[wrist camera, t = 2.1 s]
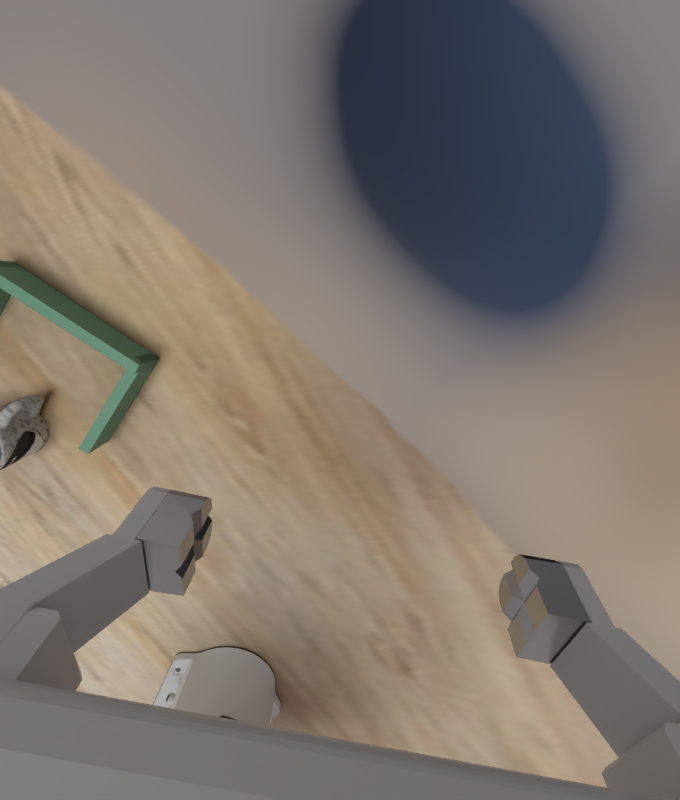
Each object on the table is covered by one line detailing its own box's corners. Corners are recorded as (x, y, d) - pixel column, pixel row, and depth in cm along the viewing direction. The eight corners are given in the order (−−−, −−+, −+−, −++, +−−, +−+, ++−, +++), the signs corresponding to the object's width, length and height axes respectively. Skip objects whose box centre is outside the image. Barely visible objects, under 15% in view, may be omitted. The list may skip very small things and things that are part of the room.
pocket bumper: (107, 441, 48) (82, 457, 43) (-34, 356, 44) (-79, 363, 39) (159, 358, 45) (139, 365, 40) (13, 262, 42) (-28, 256, 37)
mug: (29, 462, 48) (-17, 487, 42) (-18, 428, 47) (-72, 449, 40) (75, 409, 46) (34, 427, 40) (28, 372, 45) (-22, 384, 39)
